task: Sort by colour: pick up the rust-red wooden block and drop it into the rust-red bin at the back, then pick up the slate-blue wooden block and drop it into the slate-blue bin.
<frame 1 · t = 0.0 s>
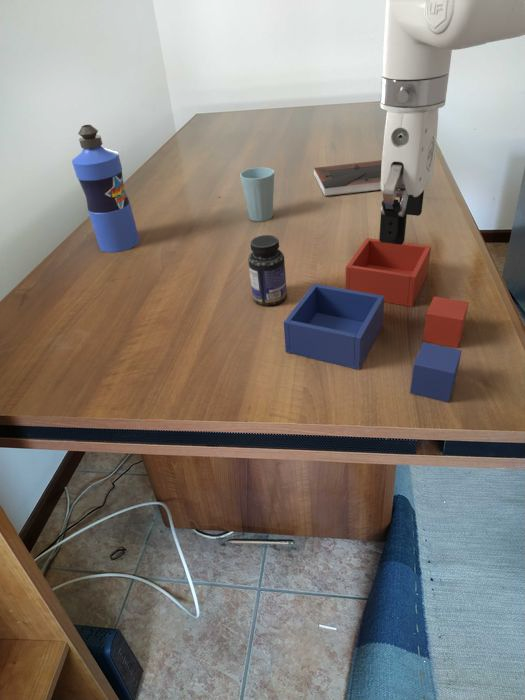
hand: (401, 227, 69), 16 cm above the table, tool pointing down, fingers open, 9 cm apart
red bin: (387, 284, 89), on the table
water bottle: (119, 243, 113), on the table
pill bottle: (269, 299, 89), on the table
blue block: (433, 386, 67), on the table
cup: (261, 217, 118), on the table
blue bin: (334, 338, 77), on the table
red block: (443, 335, 76), on the table
hardcover book: (359, 182, 131), on the table
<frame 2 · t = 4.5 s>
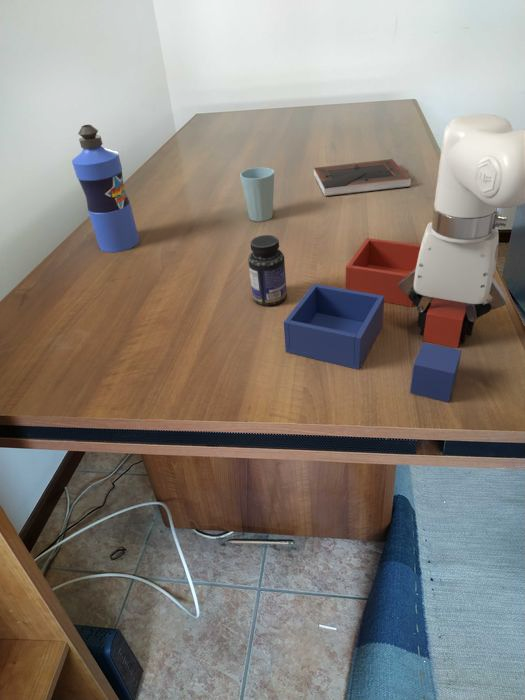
hand: (443, 333, 75), 0 cm above the table, tool pointing down, fingers closed on red block, 5 cm apart
red block: (443, 335, 76), on the table, touching gripper
everything else where it was.
when the fingers open (5 cm above the table, at t = 10.8 s): red block stays where it is, resting on red bin.
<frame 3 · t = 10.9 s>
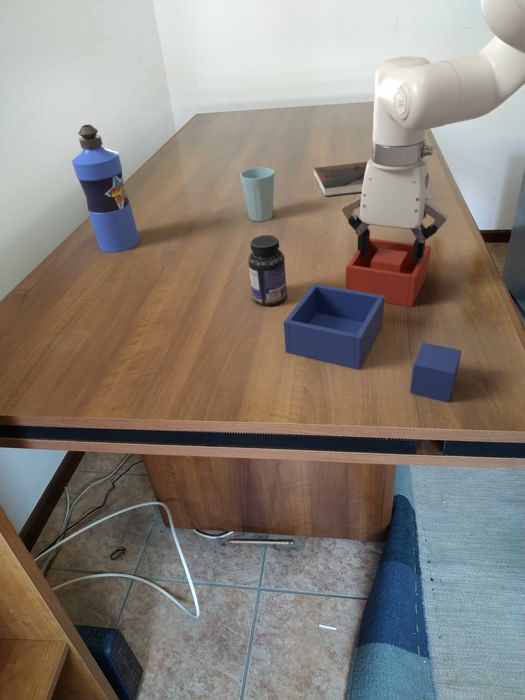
hand: (389, 257, 85), 6 cm above the table, tool pointing down, fingers open, 8 cm apart
red block: (387, 281, 88), point 1 cm above the table, touching red bin
everything else where it was.
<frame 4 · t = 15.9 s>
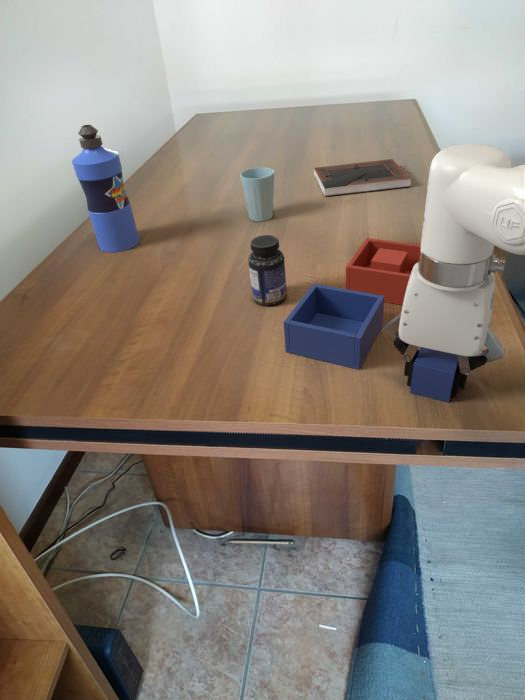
hand: (433, 383, 67), 0 cm above the table, tool pointing down, fingers closed on blue block, 5 cm apart
blue block: (433, 386, 67), on the table, touching gripper
everything else where it was.
when the fingers open (5 cm above the table, at t = 22.2 s): blue block stays where it is, resting on blue bin.
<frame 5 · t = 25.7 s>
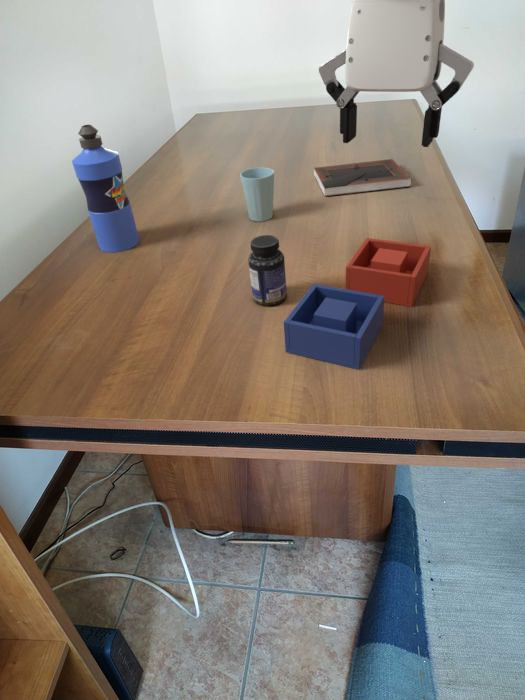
hand: (387, 141, 61), 28 cm above the table, tool pointing down, fingers open, 9 cm apart
blue block: (335, 335, 77), point 1 cm above the table, touching blue bin
everything else where it was.
at the end: red block inside the target area in the red bin (0.1 cm from its centre), point 0.6 cm above the red bin's base; blue block inside the target area in the blue bin (0.1 cm from its centre), point 0.6 cm above the blue bin's base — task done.
